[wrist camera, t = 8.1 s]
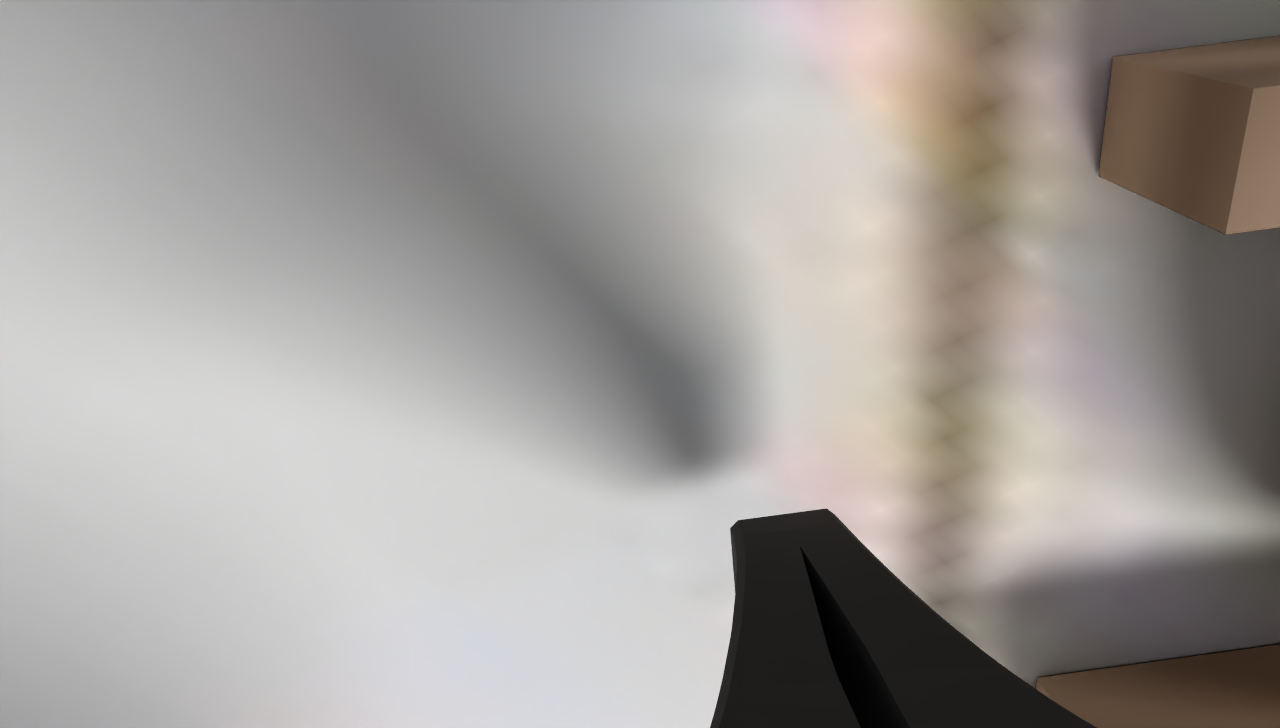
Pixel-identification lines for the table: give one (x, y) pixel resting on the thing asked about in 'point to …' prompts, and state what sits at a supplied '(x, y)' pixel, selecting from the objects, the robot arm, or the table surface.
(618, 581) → the table surface
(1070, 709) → the pocket
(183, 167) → the table surface
